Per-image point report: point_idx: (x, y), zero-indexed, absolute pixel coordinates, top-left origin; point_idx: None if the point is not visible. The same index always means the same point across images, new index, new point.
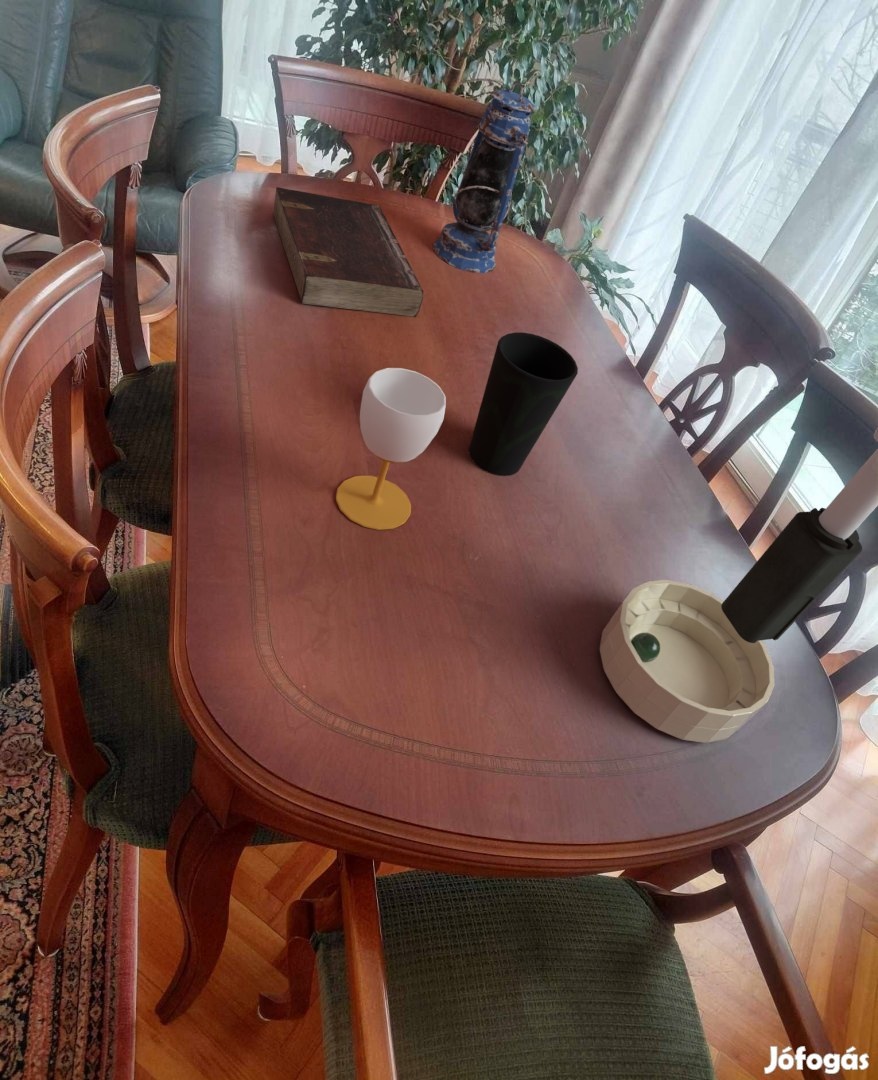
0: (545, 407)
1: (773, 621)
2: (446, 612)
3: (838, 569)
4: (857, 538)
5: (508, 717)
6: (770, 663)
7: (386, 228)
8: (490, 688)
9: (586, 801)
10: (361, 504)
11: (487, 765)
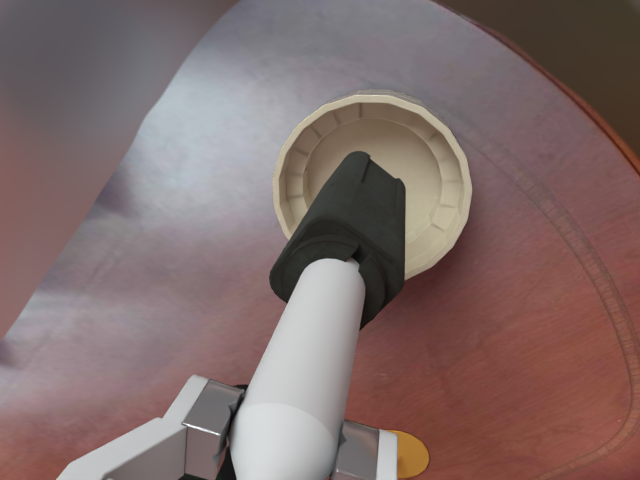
0: (230, 464)
1: (400, 194)
2: (465, 371)
3: (359, 211)
4: (326, 243)
5: (543, 290)
6: (322, 110)
7: None
8: (521, 314)
9: (593, 198)
10: (407, 460)
11: (608, 286)
